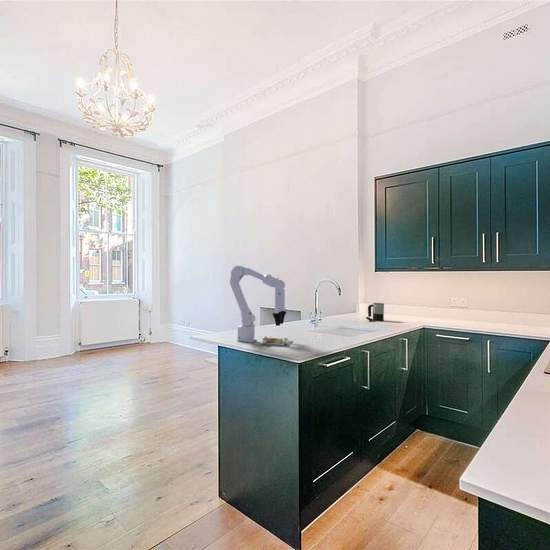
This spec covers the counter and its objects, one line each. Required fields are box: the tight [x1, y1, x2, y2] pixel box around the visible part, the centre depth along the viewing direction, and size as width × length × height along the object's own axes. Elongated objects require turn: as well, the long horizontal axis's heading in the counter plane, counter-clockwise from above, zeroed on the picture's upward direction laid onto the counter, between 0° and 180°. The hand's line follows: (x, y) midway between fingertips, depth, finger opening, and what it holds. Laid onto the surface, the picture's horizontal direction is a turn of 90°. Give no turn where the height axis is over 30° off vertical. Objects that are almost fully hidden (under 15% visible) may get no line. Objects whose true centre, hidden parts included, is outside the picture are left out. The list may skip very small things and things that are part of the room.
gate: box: [267, 337, 284, 344], centre depth 195 cm, size 10×1×3 cm, turn 75°
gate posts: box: [261, 336, 289, 346], centre depth 194 cm, size 14×3×4 cm, turn 86°
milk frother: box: [365, 302, 385, 322], centre depth 298 cm, size 14×16×15 cm
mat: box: [260, 340, 294, 348], centre depth 199 cm, size 15×16×1 cm
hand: (279, 324), depth 204 cm, fingers open, 7 cm apart
